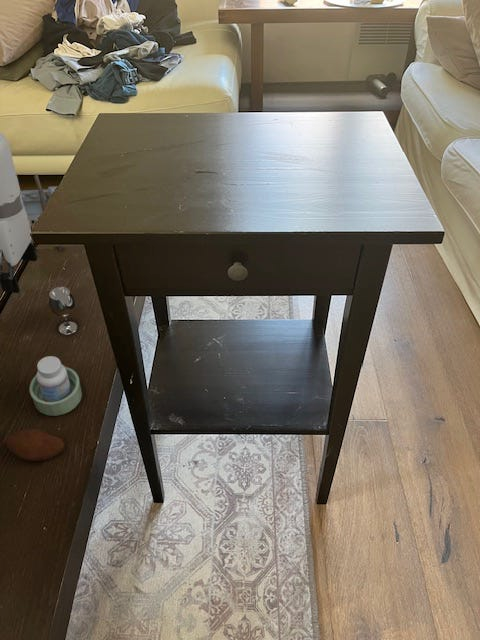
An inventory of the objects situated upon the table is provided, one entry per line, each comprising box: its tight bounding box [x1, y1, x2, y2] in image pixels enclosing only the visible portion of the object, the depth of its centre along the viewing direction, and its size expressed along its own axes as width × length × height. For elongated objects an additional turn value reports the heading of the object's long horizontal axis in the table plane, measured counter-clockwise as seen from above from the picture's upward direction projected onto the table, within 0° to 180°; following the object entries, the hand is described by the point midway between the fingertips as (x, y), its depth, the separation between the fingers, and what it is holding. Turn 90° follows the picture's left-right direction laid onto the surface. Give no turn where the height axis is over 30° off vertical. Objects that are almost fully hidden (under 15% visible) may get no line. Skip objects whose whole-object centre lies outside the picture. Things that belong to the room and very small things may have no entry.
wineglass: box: [48, 286, 78, 336], centre depth 121 cm, size 6×6×12 cm
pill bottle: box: [36, 355, 72, 402], centre depth 106 cm, size 6×6×11 cm
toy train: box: [20, 185, 59, 227], centre depth 153 cm, size 11×28×15 cm
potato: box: [5, 428, 65, 462], centre depth 99 cm, size 6×12×6 cm, turn 89°
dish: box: [29, 365, 83, 417], centre depth 109 cm, size 10×10×5 cm
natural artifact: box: [33, 174, 63, 251], centre depth 146 cm, size 4×23×4 cm
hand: (20, 275), depth 100 cm, fingers open, 9 cm apart
